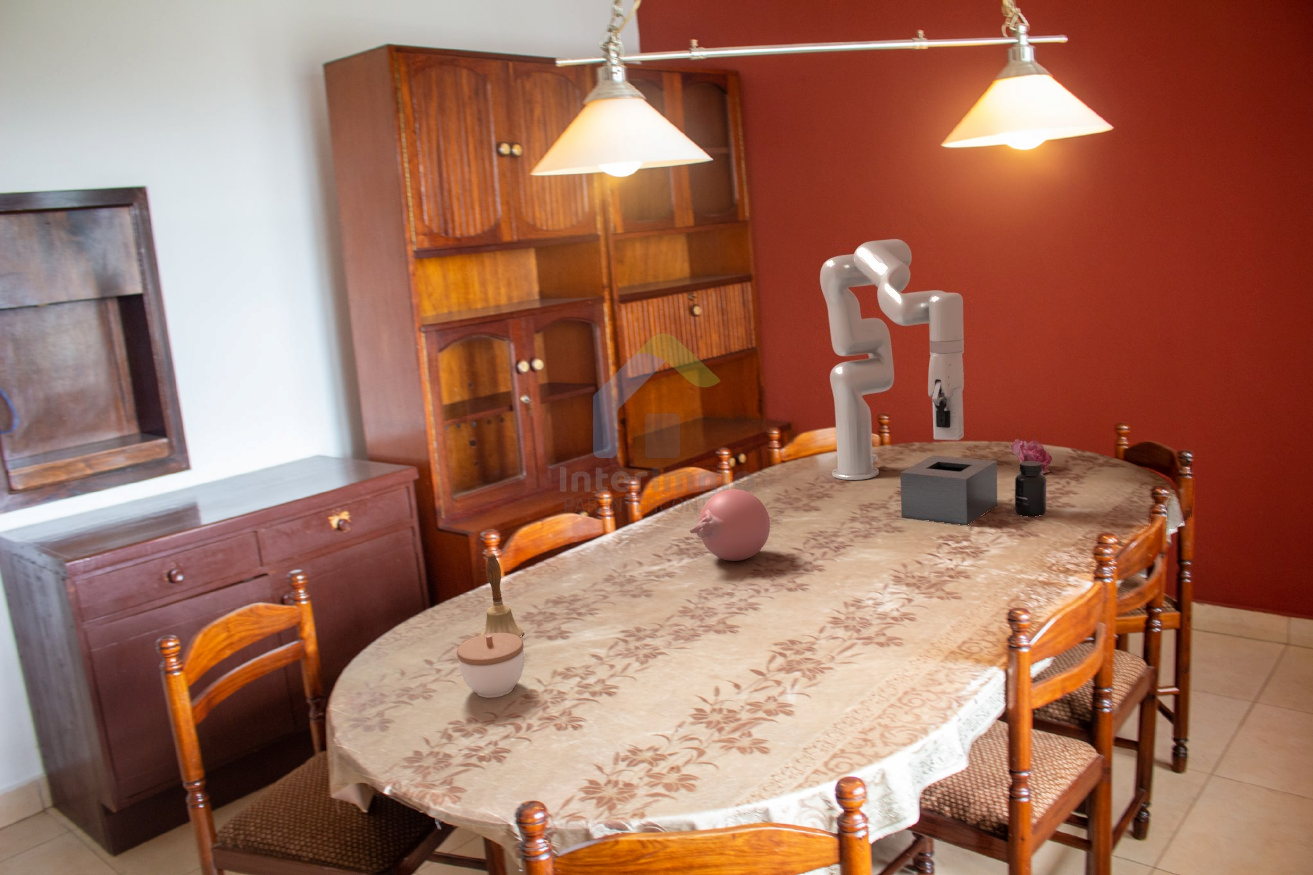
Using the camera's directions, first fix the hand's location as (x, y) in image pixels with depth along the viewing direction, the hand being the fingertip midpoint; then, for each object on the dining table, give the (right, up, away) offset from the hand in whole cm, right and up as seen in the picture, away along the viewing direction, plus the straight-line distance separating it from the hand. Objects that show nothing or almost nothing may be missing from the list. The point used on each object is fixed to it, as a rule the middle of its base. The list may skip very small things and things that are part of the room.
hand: (948, 424), depth 240 cm
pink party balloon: (-53, -30, -18) cm, 63 cm away
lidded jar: (-95, -45, -71) cm, 126 cm away
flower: (+32, -12, +33) cm, 48 cm away
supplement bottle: (+19, -21, -2) cm, 28 cm away
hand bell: (-97, -40, -49) cm, 116 cm away
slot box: (+2, -21, +4) cm, 21 cm away
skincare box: (0, -4, +1) cm, 4 cm away
